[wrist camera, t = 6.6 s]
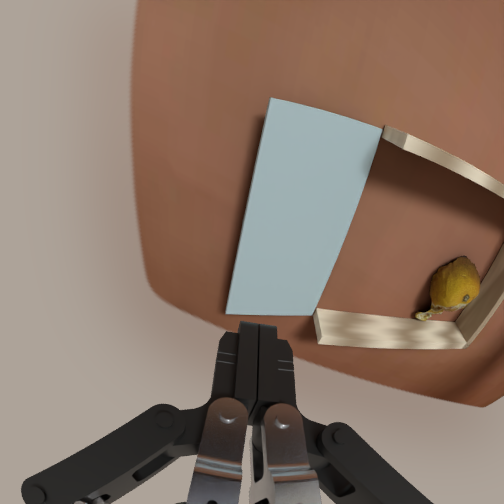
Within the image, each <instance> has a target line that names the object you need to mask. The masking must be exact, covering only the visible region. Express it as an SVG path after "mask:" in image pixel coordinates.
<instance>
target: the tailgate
mask: <svg viewBox="0 0 504 504" xmlns="http://www.w3.org/2000/svg"><path fill="white" fill-rule="evenodd" d="M381 133H382V129H380V128H377V127H375V126H372V125H369V124H366V123H363V122H360V121H357V120H354V119H351V118H348V117H345V116H341V115H338V114H335V113H331V112H328V111H324V110H321V109H317V108H313V107H309V106H305V105H301V104H297V103H293V102H289V101H284V100H280V99H275V98H269V102H268V107H267V111H266V116H265V120H264V125H263V129H262V134H261V139H260V143H259V148H258V153H257V157H256V162H255V167H254V171H253V176H252V181H251V186H250V190H249V195H248V200H247V205H246V210H245V215H244V220H243V224H242V229H241V234H240V239H239V244H238V249H237V254H236V259H235V264H234V269H233V274H232V279H231V285H230V290H229V295H228V300H227V305H226V310H225V311H226V314H242V315H312V314H313V312H314V310H315V308H316V305H317V303H318V301H319V299H320V297H321V294H322V292H323V290H324V287H325V285H326V283H327V281H328V278H329V276H330V274H331V271H332V269H333V266H334V264H335V262H336V259H337V257H338V254H339V252H340V249H341V247H342V244H343V242H344V239H345V237H346V234H347V232H348V229H349V226H350V224H351V221H352V219H353V216H354V213H355V210H356V208H357V205H358V202H359V199H360V197H361V194H362V191H363V188H364V185H365V182H366V179H367V177H368V174H369V171H370V168H371V164H372V161H373V158H374V155H375V152H376V149H377V146H378V142H379V139H380V136H381Z"/></svg>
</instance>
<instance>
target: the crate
mask: <svg viewBox="0 0 504 504" xmlns="http://www.w3.org/2000/svg"><path fill="white" fill-rule="evenodd" d="M382 138H383V139H385V140H387V141H389V142H391V143H393V144H395V145H397V146H398V147H400V148H402V149H404V150H407V151H409V152H412V153H414V154H416V155H419V156H421V157H424V158H426V159H428V160H430V161H433V162H435V163H437V164H439V165H441V166H444V167H446V168H448V169H450V170H452V171H454V172H456V173H458V174H460V175H462V176H464V177H466V178H468V179H470V180H472V181H474V182H476V183H477V184H479V185H481V186H483V187H485V188H487V189H488V190H490V191H492V192H494V193H495V194H497V195H499V196H500V197H502V198H504V184H502V183H501V182H499V181H497V180H496V179H494V178H493V177H491V176H489V175H488V174H486V173H484V172H483V171H481V170H479V169H477V168H476V167H474V166H472V165H470V164H469V163H467V162H465V161H463V160H461V159H459V158H458V157H456V156H454V155H452V154H450V153H448V152H446V151H444V150H442V149H440V148H438V147H436V146H434V145H432V144H429V143H427V142H425V141H423V140H421V139H418V138H416V137H414V136H412V135H409V134H407V133H405V132H402V131H400V130H397V129H395V128H392V127H390V126H387V125H385V128H384V131H383V134H382ZM503 299H504V243H503V245H502V247H501V249H500V251H499V253H498V255H497V257H496V259H495V260H494V262H493V264H492V266H491V268H490V269H489V271H488V273H487V274H486V276H485V278H484V279H483V281H482V283H481V284H480V291H479V294H478V295H477V297H476V298H474V299H473V300H472V301H471V302H470V303H469V304H468V306H466V307H465V309H464V310H463V312H462V313H461V315H460V316H459V317H458V319H457V320H456V321H455V322H446V321H433V320H426V321H422V320H420V319H409V318H398V317H388V316H378V315H369V314H360V313H351V312H342V311H334V310H326V309H319V308H316V310H315V313H314V315H313V318H314V324H315V329H316V335H317V340H318V344H326V345H338V346H352V347H369V348H393V349H465V348H467V347H468V346H469V345H470V344H471V343H472V341H473V340H474V339H475V338H476V336H477V335H478V334H479V333H480V331H481V330H482V329H483V327H484V326H485V325H486V323H487V322H488V321H489V319H490V318H491V317H492V315H493V314H494V312H495V311H496V309H497V308H498V307H499V305H500V304H501V302H502V301H503Z"/></svg>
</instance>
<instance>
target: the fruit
mask: <svg viewBox="0 0 504 504" xmlns="http://www.w3.org/2000/svg"><path fill="white" fill-rule="evenodd" d="M479 291H480V276H479V274H478V271H477V270H476V267H475V264H473V263H471V261H470V260H469V259H468V258H467V257H466V256H461V257H459V258H457V260H456V261H454V262H453V263H449V264H448V265H447V266H443V267H439V269H438V272H437V273H436V274H434V275H433V277H432V282H431V287H430V291H429V294H430V297H431V300H432V303H431V309H430V310H429V311H428V312H425V313H423V312H419V311H418V312H417V313H416V314H415V317H416V318H417V319H420V320H422V321H426V320H427V318H429V317H431V315H432V314H441V313H442V312H443V310H445V311H456V310H458V309H460V308H464V307H466V306H468V304H469V303H470V302H471V301H472V300H473V299H474V298H476V297H477V295H478V294H479ZM426 313H428V315H427V316H426Z"/></svg>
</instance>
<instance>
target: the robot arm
mask: <svg viewBox="0 0 504 504" xmlns="http://www.w3.org/2000/svg"><path fill="white" fill-rule="evenodd" d="M293 370H294V365H293V351H292V349H291V347H290V345H289V343H288V341H287V340H281V339H277V327H276V326H271V325H264V324H257V323H251V322H244V321H240V324H239V328H238V333H233V332H227V331H226V332H225V334H224V335H223V336H222V338H221V339H220V341H219V347H218V353H217V358H216V364H215V372H214V378H213V385H212V393H211V398H210V399H209V401H208V402H207V403H206V404H204V405H203V406H201V407H199V408H195V409H187V410H179V409H178V408H176V407H174V406H172V405H169V404H158V405H155V406H153V407H151V408H150V409H148V410H146V411H145V412H143V413H142V414H140V415H139V416H137V417H135V418H134V419H132V420H131V421H129V422H128V423H126V424H124V425H123V426H121V427H120V428H118V429H116V430H115V431H113V432H111V433H110V434H108V435H106V436H105V437H103V438H102V439H100V440H98V441H96V442H95V443H93V444H91V445H89V446H88V447H86V448H84V449H82V450H81V451H79V452H77V453H76V454H73V455H72V456H70V457H68V458H66V459H64V460H63V461H61V462H59V463H57V464H55V465H53V466H51V467H49V468H47V469H45V470H43V471H42V472H39V473H38V474H35V475H33V476H31V477H29V478H27V479H26V480H25V481H24V482H23V484H22V488H21V493H22V497H23V500H24V501H25V503H26V504H111V503H112V502H114V501H116V500H117V499H119V498H121V497H122V496H124V495H125V494H126V493H129V492H130V491H132V490H133V489H135V488H136V487H137V486H139V485H141V484H142V483H144V482H145V481H147V480H148V479H150V478H151V477H153V476H154V475H156V474H157V473H158V472H160V471H161V470H163V469H164V468H166V467H167V466H168V465H170V464H171V463H172V462H174V461H175V460H176V459H178V458H179V457H181V456H189V455H197V454H198V456H197V460H196V463H195V467H194V471H193V476H192V481H191V485H190V489H189V493H188V498H187V502H181V503H176V504H238V502H239V495H240V489H241V482H242V469H241V465H242V458H243V451H244V444H245V436H246V430H247V425H251V426H253V431H252V437H251V438H250V464H251V487H250V491H249V504H322V503H321V496H320V489H321V490H323V492H324V493H325V494H326V495H327V496H328V497H329V498H330V499H331V500H332V501H333V502H334V503H336V504H433V503H432V502H431V501H430V500H428V499H427V498H426V497H425V496H424V495H423V494H422V493H420V492H419V491H418V490H417V489H416V488H415V487H414V486H413V485H411V484H410V483H409V482H408V481H407V480H406V479H405V478H404V477H402V476H401V475H400V474H399V473H398V472H397V471H396V470H395V469H394V468H392V466H390V465H389V464H388V463H387V462H386V461H385V460H384V459H383V458H382V457H381V456H380V455H379V454H378V453H377V452H376V451H375V450H374V449H373V448H371V447H370V446H369V445H368V444H367V443H366V442H365V441H364V440H363V439H362V438H361V437H360V436H359V435H358V434H357V433H356V432H355V431H354V430H353V429H352V428H351V427H349V426H348V425H347V424H345V423H341V422H335V423H331V424H329V425H328V426H326V425H323V424H320V423H316V422H314V421H311V420H308V419H307V418H305V417H304V416H303V415H302V414H301V413H300V411H299V410H298V408H297V405H296V394H295V379H294V371H293ZM319 488H320V489H319Z"/></svg>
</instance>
